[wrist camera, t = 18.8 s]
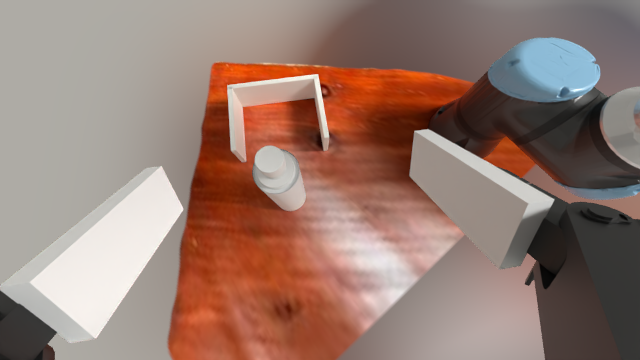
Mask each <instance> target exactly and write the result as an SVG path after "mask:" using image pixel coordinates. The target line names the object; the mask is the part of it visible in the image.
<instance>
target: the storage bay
mask: <svg viewBox="0 0 640 360" xmlns="http://www.w3.org/2000/svg"><path fill="white" fill-rule="evenodd" d="M227 89H228V107H229V126H230V144H231V151H232V152H233V153H234V154H235V156H236V157H237V158H238V159H239V160H240V161H241V162H247V161H246V148H245V134H244V120H243V107H247V106H255V105H263V104H270V103H278V102H286V101H294V100H302V99H310V98H315V103H316V109H317V115H318V121H319V127H320V133H321V139H322V145H323V151H328V144H329V133H328V128H327V122H326V116H325V111H324V105H323V100H322V94H321V88H320V83H319V77H318V74H315V75H307V76H299V77H290V78H282V79H274V80H266V81H258V82H250V83H242V84H234V85H227Z"/></svg>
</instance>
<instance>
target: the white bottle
mask: <svg viewBox="0 0 640 360" xmlns="http://www.w3.org/2000/svg"><path fill="white" fill-rule="evenodd" d="M281 150H282V151H281ZM285 151H286V150H283V149H279V148H277V147H275V146H265V147H263V148H261V149H260V150H259V151H258V152H257V153H256V156H255V163H254V165H253V170H254V171H253V170H252V174H253V175H254V176H253V179H254V181H255V183H256V185H257V186H258V187H259V188H260V189H261V190H262V191H263V192H264V193H265V194H266V195H267V196H269V197H270V198H271V199H272V200H273V201H274V202H275V203H276V204H277V205H278V206H279V207H280V208H282V209H283V210H286V211H295V210H297V209H299V208H300V207H302V205H303V204H304V202H305V199H306V192H305V188H304V184H303V180H302V176H301V172H300V168H299V164H298V161H297V159H296V158H294V157H293V156H292V154H291V153H290V152H288V151H286V152H285ZM254 166H255V167H254Z"/></svg>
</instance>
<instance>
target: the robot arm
mask: <svg viewBox="0 0 640 360" xmlns="http://www.w3.org/2000/svg"><path fill="white" fill-rule="evenodd" d="M594 62H595V58H594V57H593V56H592V55H591V54H590V53H589V52H588V51H587V50H586V49H584V48H582V47H581V46H579V45H577V44H575V43H572V42H570V41H567V40H563V39H558V38H534V39H529V40H526V41H524V42H521V43H519V44H517V45H516V46H514V47H513V48H511V49H510V50H509V51H508V52H507V53H506V54H505V55H504V56H502V58H500V59H498V60H497V61H495V62H494V63H493V64H492V65H491V67H490V69H489V70H488V71H487V72H486V73H485V74H484V75H483V76H482V77H481V78H480V79H479V80H478V82H476V83H475V84H474V85H473V86H472V87H471V88H470V89H469V90H468V91H467V92H466V93H465V94H464V95H463V96H462V97H460V98H458V99H456V100H454V101H452V102H450V103H447V104H445V105H444V106H442V107H441V108H440V109H439V110H438V111H437V112H436V113H435V114H434V115H433V116H432V118H431V120H430V122H429V126H428V129H425V130H418V131H414V139H413V148H412V157H411V166H410V174H409V176H410V177H411V178H412V179H413V180H414V182H415V183H416V184H417V185H418V186H419V187H420V188H421V189H422V190H423V191H424V192H425V193H426V194H427V195H428V196H429V197H430V198H431V199H432V200H433V201H434V202H435V203H436V204H437V205H438V207H439V208H440V209H441V210H442V211H443V212H444V213H445V214H446V215H447V216H448V217H449V218H450V219H451V220H452V221H453V222H454V223H455V224H456V225H457V226H458V227H459V228H460V229H461V230H462V232H463V233H464V234H465V235H466V236H467V237H468V238H469V239H470V240H471V241H472V242H473V243H474V244H475V245H476V246H477V247H478V248H479V249H480V250H481V251H482V252H483V253H484V254H485V255H486V257H487V258H488V259H489V260H490V261H491V262H492V263H493V264H494V265H495V266H496V267H497V268H498V269H505V268H511V267H517V266H521V264H522V262H523V260H524V258H525V256H526V254H527V253H528V254H530V255H531V256H532V257H533V258H534V259H535V260H537V261H536V263H535V264H534V266H533V268H532V270H531V271H530V273H529V275H528V277H527V279H526V281H525V284H526V285H528V286H529V285H530V283H531V282H532V281H533V280H535V288H536V294H537V302H538V310H539V317H540V324H541V332H542V339H543V347H544V354H545V360H640V220H638V219H632V218H631V217H629V216H628V215H626V214H624V213H622V212H620V211H618V210H615V209H612V208H610V207H607V206H603V205H599V204H594V203H587V202H574V203H571V204H568V203H567V202H565V201H563V200H561V199H559V198H558V197H556V196H554V195H552V194H550V193H548V192H546V191H545V190H543V189H541V188H539V187H537V186H536V185H533V184H530V183H529V182H528V181H526V180H525V179H523V178H519V176H517V175H515V174H513V173H512V172H510V171H508V170H505V169H502V168H499V167H496V166H494V165H492V164H490V163H488V162H487V161H485V160H483V159H482V158H484V157H486V156H487V155H489V154H490V153H491V152H492V151H493V150H494V148H495V147H496V146H497V145H498V144H499V142H500V141H501V140H502V139H503V138H504V137H505V136H507V137H508V138H509V139H510V140H511V141H513V142H514V143H515V144H516V145H517V146H518V147H519V148H520V149H521V150H522V151H523V152H524V153H525V154H526V155H528V156H529V157H530V158H531V159H532V160H533V161H534V162H535V163H536V164H537V165H538V166H539V167H540V168H541V169H543V170H544V171H545V172H546V173H547V174H548V175H549V176H550V177H551V178H552V179H553V180H554V181H555V182H556V183H557V184H559V185H561V186H563V187H564V188H565V189H567V190H568V191H569V192H571V193H572V194H574V195H576V196H578V197H582V198H586V199H594V200H609V199H618V198H625V197H629V196H634V195H636V194H637V193H638V192H640V87H633V88H629V89H625V90H623V91H620V92H618V93H616V94H614V95H612V96H609V97H607V96H606V95H604V94H603V93H602V92H600V91H599V90H597V89H596V88H595V87H594V86H595V84H596V83H597V82H598V79H599V77H600V67H599V65H597V64H594ZM182 211H183V207H182V205H181V203H180V201H179V199H178V197H177V195H176V193H175V191H174V189H173V188H172V186H171V184H170V182H169V180H168V178H167V176H166V174H165V172H164V170H163V168H162V166H157V167H150V168H145V169H144V170H143V171H142V172H140V173H139V174H138V175H137V176H135V177H134V178H133V179H132V180H131V181H130V182H128V183H127V184H125V185H124V186H123V187H122V188H120V189H119V190H118V191H117V192H115V193H114V194H113V195H112V196H110V197H109V198H108V199H107V200H105V201H104V202H103V203H102V204H100V205H99V206H98V207H97V208H96V209H94V210H93V211H92V212H90V213H89V214H88V215H87V216H85V217H84V218H83V219H82V220H81V221H79V222H78V223H77V224H75V225H74V226H73V227H72V228H70V229H69V230H68V231H67V232H65V233H64V234H63V235H62V236H60V237H59V238H58V239H57V240H55V241H54V242H53V243H52V244H50V245H49V246H48V247H47V248H46V249H44V250H43V251H42V252H41V253H39V254H38V255H37V256H36V257H34V258H33V259H32V260H31V261H29V262H28V263H27V264H26V265H24V266H23V267H22V268H21V269H19V270H18V271H17V272H16V273H14V274H13V275H12V276H11V277H9V278H8V279H7V280H6V281H4V282H3V283H2V284H1V285H0V360H55V352H54V350H53V348H52V347H51V346H49V345H48V343H49V341H50V340H51V339H52V338H53V337H54V335H55V334H56V333H57V334H59V335H60V336H61V337H63V338H64V339H65V340H66V341H68V342H69V343H74V342H80V341H86V340H92V339H96V338H97V336H98V335H99V333H100V332H101V330H102V329H103V327H104V326H105V325H106V323H107V322H108V320H109V319H110V317H111V316H112V314H113V313H114V311H115V310H116V308H117V307H118V305H119V304H120V302H121V301H122V300H123V298H124V297H125V295H126V294H127V292H128V291H129V289H130V288H131V286H132V285H133V283H134V282H135V280H136V279H137V277H138V276H139V275H140V273H141V272H142V270H143V269H144V267H145V266H146V264H147V263H148V261H149V260H150V258H151V257H152V255H153V254H154V252H155V251H156V249H157V248H158V246H159V245H160V243H161V242H162V241H163V239H164V238H165V236H166V235H167V233H168V232H169V230H170V229H171V227H172V226H173V224H174V223H175V221H176V220H177V219H178V217H179V215H180V214H181V213H182Z"/></svg>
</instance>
